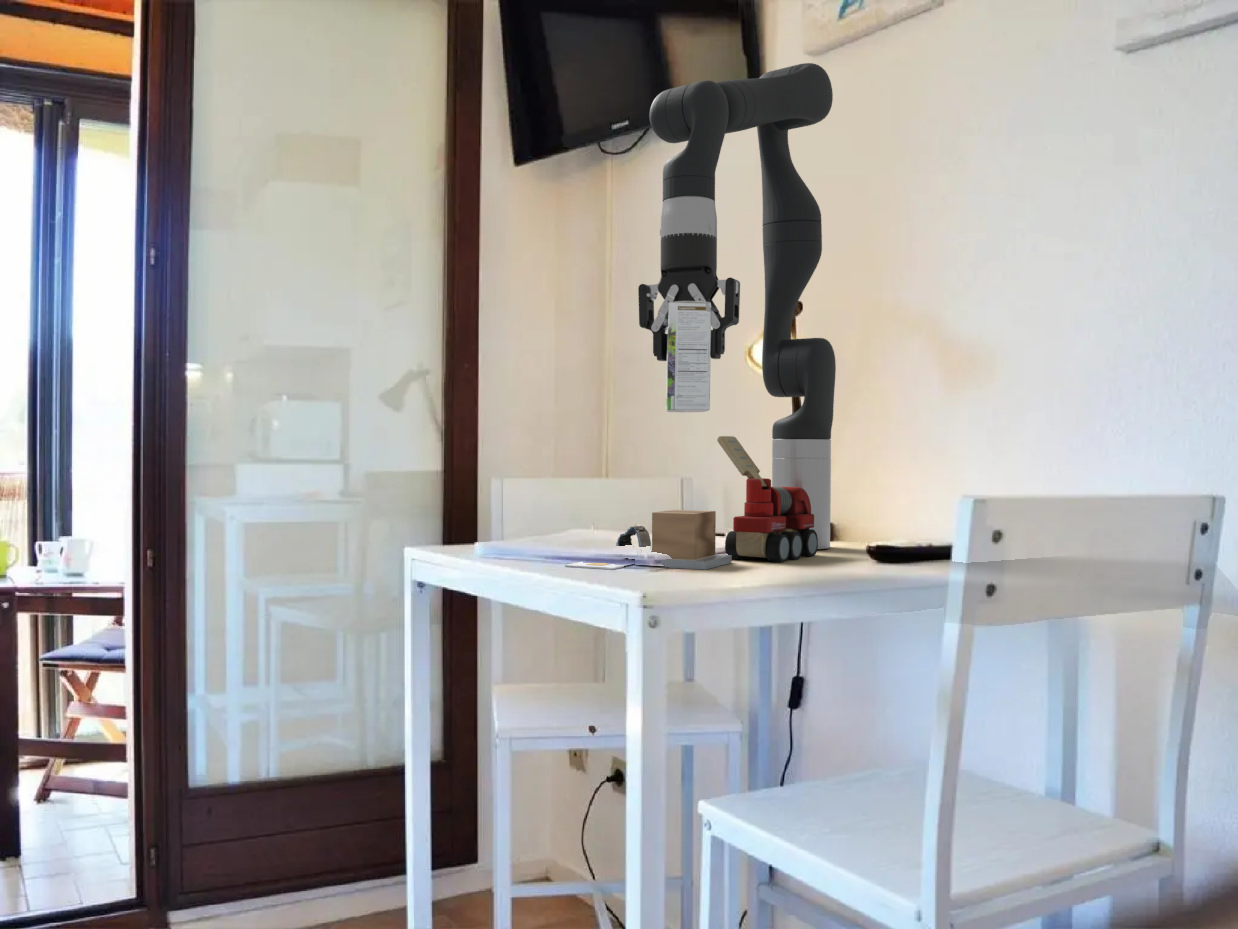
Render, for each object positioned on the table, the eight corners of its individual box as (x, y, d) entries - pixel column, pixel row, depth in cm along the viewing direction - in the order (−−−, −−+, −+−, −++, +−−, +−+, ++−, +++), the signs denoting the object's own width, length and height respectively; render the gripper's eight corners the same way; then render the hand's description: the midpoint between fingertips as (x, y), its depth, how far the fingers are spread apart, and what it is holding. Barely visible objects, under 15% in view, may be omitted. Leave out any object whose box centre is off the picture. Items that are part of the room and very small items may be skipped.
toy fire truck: (821, 556, 155) (822, 437, 155) (775, 564, 142) (776, 434, 142) (752, 551, 161) (752, 437, 161) (702, 559, 149) (703, 435, 148)
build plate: (664, 559, 147) (664, 551, 147) (731, 562, 143) (731, 555, 143) (634, 565, 138) (634, 557, 138) (705, 569, 134) (705, 561, 134)
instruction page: (596, 560, 145) (596, 558, 145) (642, 563, 142) (642, 561, 142) (564, 566, 137) (564, 564, 137) (612, 569, 134) (612, 567, 134)
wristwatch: (643, 568, 148) (626, 541, 151) (658, 546, 145) (641, 518, 147) (626, 572, 147) (609, 544, 149) (640, 550, 143) (623, 521, 146)
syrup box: (665, 412, 143) (666, 306, 143) (709, 412, 143) (709, 305, 143) (666, 411, 138) (667, 300, 137) (711, 411, 137) (712, 300, 137)
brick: (674, 552, 146) (674, 509, 146) (715, 554, 143) (715, 511, 143) (651, 557, 138) (652, 512, 138) (694, 560, 136) (694, 513, 136)
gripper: (748, 236, 140) (748, 360, 141) (650, 245, 146) (650, 363, 147) (730, 226, 133) (730, 355, 134) (628, 235, 140) (628, 359, 140)
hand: (688, 359), depth 140 cm, fingers closed on syrup box, 7 cm apart
